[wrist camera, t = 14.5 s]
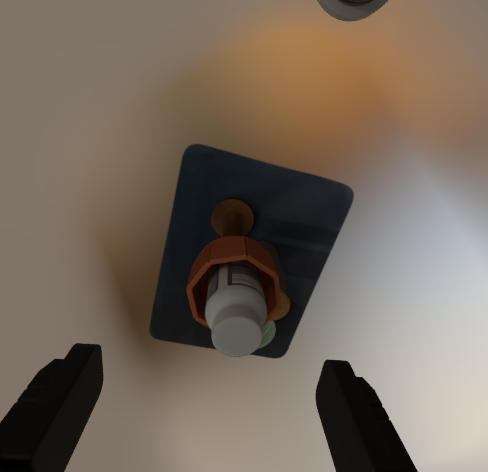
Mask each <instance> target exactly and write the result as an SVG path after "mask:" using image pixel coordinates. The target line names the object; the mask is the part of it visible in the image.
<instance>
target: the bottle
mask: <svg viewBox="0 0 488 472" xmlns="http://www.w3.org/2000/svg"><path fill="white" fill-rule="evenodd" d="M256 242H258V243H259V244H261V245H262V246H263V247H264V248H265V249H266V250H267V251H268V252H270V253H271V255H272V256H273V259H274V263H275V266H276V269H277V272H278V276H279V284H280V293H281V303H282V305H281V308H280V309H279V310H278V311H277V312H276V313H275V315H274V316H273V317H272V318H271V319H270V320H269V321H275V320H279V319H281V318H283V317H284V316H285V315H286V314H287V313H288V311H289V309H290V300H289V293H288V282H287V279H286V276H285V273H284V270H283V267H282V264H281V261H280V258H279V255H278V253H277V250H276V248H275V247H274V245H272V244H271V243H269V242H267V241H256Z"/></svg>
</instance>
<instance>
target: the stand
mask: <svg viewBox="0 0 488 472" xmlns="http://www.w3.org/2000/svg"><path fill="white" fill-rule="evenodd" d="M211 222H212V226H213V228H214V230H215V231H216V233H217V234H219V235H220V236H221V237H226V236H245V235H247V234H248V233H249V232H250V230H251V229H252V226H253V223H254V216H253V212H252V209H251V207H250V206H249V205H248V204H247V203H246V202H245V201H243V200H241V199H238V198H227V199H224V200H222V201H221V202H219V203H218V204H217V205H216V206H215V208H214V209H213V212H212V217H211Z"/></svg>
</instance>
